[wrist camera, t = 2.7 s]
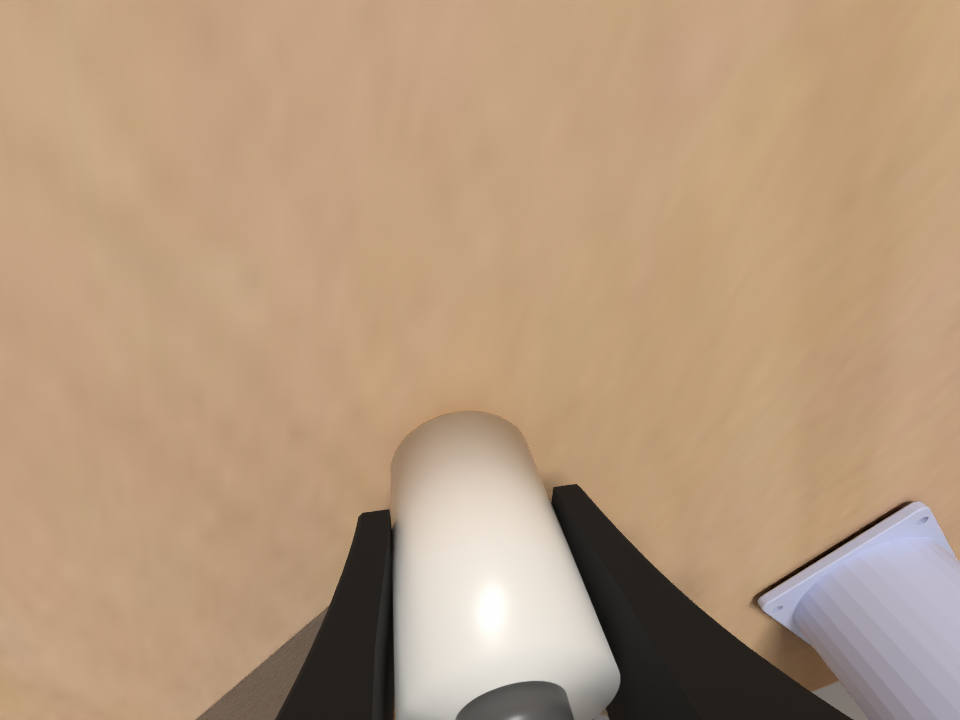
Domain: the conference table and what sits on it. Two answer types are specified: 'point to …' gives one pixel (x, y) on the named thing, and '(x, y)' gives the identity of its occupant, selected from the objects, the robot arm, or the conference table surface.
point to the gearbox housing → (275, 682)
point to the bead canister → (487, 584)
